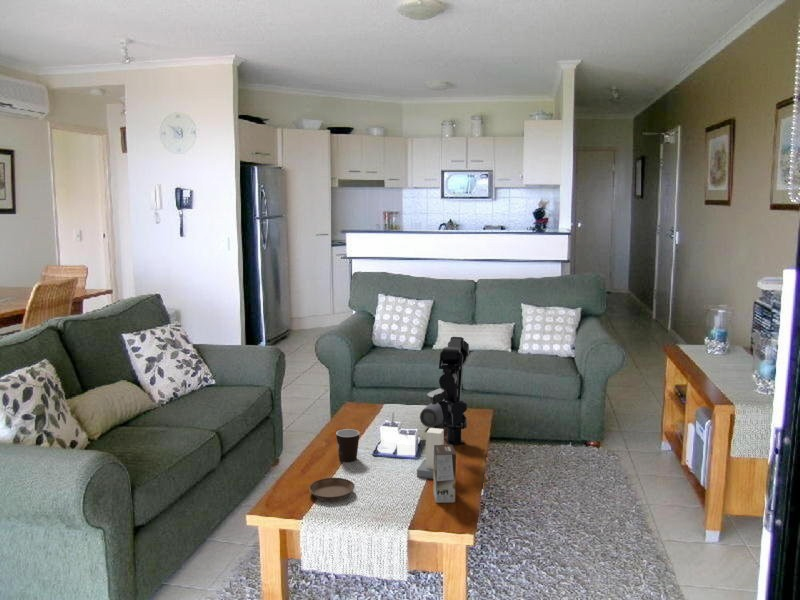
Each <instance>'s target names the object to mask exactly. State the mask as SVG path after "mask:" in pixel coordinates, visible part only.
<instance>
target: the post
mask: <svg viewBox="0 0 800 600" xmlns="http://www.w3.org/2000/svg"><path fill="white" fill-rule="evenodd" d="M444 429H445V428H437V427H436V428H435V427H428V430H427V431H426V433H425V434H426V436H425V438H426V439H425V440H426V441H425V460H426V468H430V469H434V445H444V442H445V440H444V435H445V433H444V432H445V431H444Z"/></svg>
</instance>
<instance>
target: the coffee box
mask: <svg viewBox="0 0 800 600" xmlns="http://www.w3.org/2000/svg"><path fill="white" fill-rule="evenodd" d="M456 469H457V453H456V451H455V448H454V446H453V445H449V444H443V445H434V474H433V479H432V480H433V483H432V485H433V487H432V489H433V490H432V493H433V496H434V502H435V503H436V504H439V503H441V504H443V503H445V504H446V503H455V502H456V480H457V479H456V478H457V477H456V475H457V471H456Z"/></svg>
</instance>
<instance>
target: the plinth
mask: <svg viewBox="0 0 800 600" xmlns="http://www.w3.org/2000/svg"><path fill="white" fill-rule="evenodd" d="M433 474H434V469H430V468H426V459H424V460H423V461H422V462H421V464H420V465H419V466H418V468H417V469H416V477H417V478H425V479H432V480H433Z"/></svg>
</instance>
